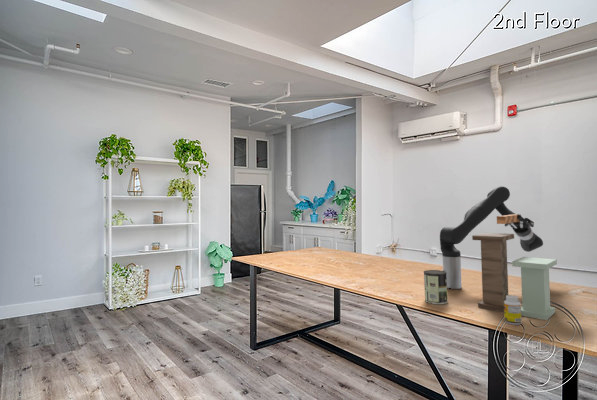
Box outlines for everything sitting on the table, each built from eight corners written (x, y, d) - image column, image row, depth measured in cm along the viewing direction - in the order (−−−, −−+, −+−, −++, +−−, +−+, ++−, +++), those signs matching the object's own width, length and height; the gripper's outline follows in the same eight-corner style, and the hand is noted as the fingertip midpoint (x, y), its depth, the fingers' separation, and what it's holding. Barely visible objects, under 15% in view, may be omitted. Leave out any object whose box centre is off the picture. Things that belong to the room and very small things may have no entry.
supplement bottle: (506, 319, 138) (505, 293, 138) (522, 322, 135) (521, 295, 135) (503, 323, 134) (502, 296, 134) (520, 326, 130) (519, 298, 131)
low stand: (549, 321, 135) (546, 264, 135) (514, 314, 144) (512, 261, 144) (558, 312, 146) (556, 259, 146) (525, 306, 154) (523, 256, 155)
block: (505, 223, 163) (504, 216, 163) (496, 223, 165) (496, 216, 165) (521, 221, 179) (520, 214, 179) (513, 221, 181) (513, 214, 181)
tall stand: (504, 313, 146) (501, 236, 147) (474, 307, 155) (472, 235, 156) (516, 305, 157) (514, 233, 158) (488, 300, 166) (485, 232, 166)
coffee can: (444, 298, 170) (443, 269, 171) (450, 304, 160) (449, 274, 160) (422, 298, 172) (421, 269, 172) (426, 304, 162) (425, 273, 162)
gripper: (509, 224, 193) (499, 209, 183) (539, 224, 182) (530, 209, 172) (507, 236, 190) (497, 222, 180) (538, 237, 180) (528, 222, 170)
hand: (513, 215), depth 176 cm, fingers closed on block, 3 cm apart
